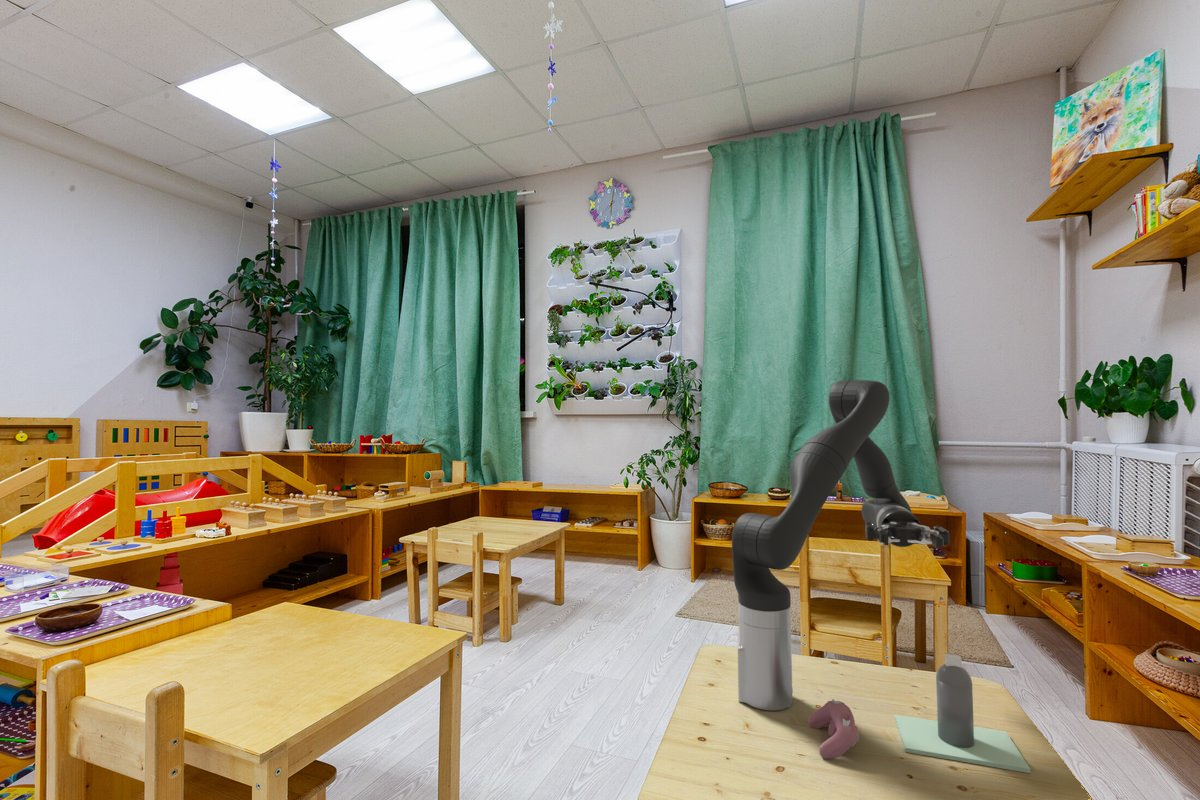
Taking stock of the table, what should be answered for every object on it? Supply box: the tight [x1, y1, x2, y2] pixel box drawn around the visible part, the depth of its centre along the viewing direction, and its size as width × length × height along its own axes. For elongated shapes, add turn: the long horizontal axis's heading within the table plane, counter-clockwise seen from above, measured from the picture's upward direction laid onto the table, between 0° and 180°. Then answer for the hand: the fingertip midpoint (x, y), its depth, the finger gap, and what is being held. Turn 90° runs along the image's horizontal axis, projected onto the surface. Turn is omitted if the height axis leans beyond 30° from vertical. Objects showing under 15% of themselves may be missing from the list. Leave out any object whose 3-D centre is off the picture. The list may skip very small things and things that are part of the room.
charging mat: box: [894, 714, 1032, 774], centre depth 87 cm, size 16×10×1 cm, turn 70°
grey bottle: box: [935, 653, 975, 748], centre depth 88 cm, size 5×5×13 cm
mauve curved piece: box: [807, 698, 859, 760], centre depth 88 cm, size 10×5×7 cm, turn 170°
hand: (912, 541), depth 103 cm, fingers open, 8 cm apart
